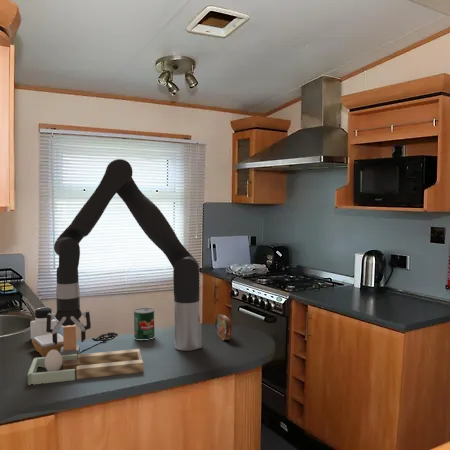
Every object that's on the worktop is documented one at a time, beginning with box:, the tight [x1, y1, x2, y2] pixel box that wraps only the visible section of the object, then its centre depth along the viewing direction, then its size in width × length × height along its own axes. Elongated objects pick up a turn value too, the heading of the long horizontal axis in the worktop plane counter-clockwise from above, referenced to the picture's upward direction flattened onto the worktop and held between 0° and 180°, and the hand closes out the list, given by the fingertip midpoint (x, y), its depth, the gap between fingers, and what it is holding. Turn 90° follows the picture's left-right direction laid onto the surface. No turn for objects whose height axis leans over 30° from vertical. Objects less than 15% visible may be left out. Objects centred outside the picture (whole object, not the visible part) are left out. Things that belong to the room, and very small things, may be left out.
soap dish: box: [31, 332, 64, 357], centre depth 165 cm, size 12×10×5 cm
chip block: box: [62, 359, 80, 374], centre depth 146 cm, size 5×5×3 cm
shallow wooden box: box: [76, 348, 144, 380], centre depth 149 cm, size 20×14×3 cm
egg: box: [44, 350, 63, 372], centre depth 145 cm, size 5×5×7 cm
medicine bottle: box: [29, 306, 58, 341], centre depth 181 cm, size 7×7×12 cm
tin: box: [214, 313, 233, 341], centre depth 181 cm, size 15×3×8 cm, turn 16°
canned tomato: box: [133, 307, 156, 339], centre depth 180 cm, size 8×8×11 cm
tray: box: [26, 354, 77, 386], centre depth 144 cm, size 13×15×3 cm
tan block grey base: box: [61, 324, 81, 358], centre depth 159 cm, size 6×6×11 cm
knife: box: [91, 332, 119, 342], centre depth 174 cm, size 25×6×1 cm, turn 154°
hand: (69, 342), depth 157 cm, fingers open, 8 cm apart
